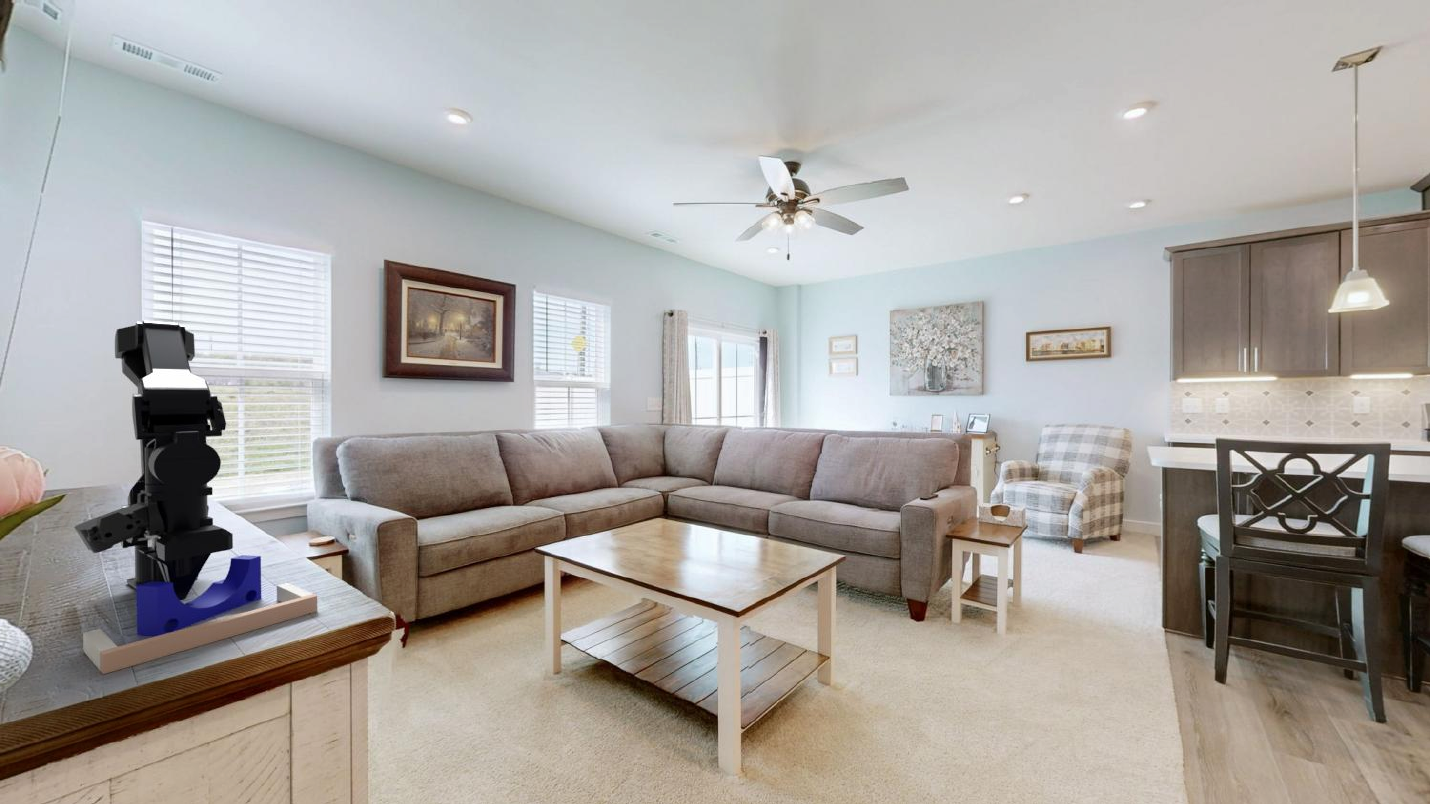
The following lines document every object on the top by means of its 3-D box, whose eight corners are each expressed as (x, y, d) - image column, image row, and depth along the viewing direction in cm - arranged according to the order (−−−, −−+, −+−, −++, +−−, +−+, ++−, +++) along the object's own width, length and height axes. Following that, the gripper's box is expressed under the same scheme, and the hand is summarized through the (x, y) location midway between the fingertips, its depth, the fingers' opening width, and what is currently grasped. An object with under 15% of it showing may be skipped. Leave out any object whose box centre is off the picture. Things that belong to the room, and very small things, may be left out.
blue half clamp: (233, 597, 74) (232, 554, 74) (261, 599, 74) (260, 556, 73) (126, 636, 62) (125, 585, 62) (158, 638, 62) (157, 587, 62)
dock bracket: (83, 651, 58) (83, 632, 58) (287, 597, 74) (287, 582, 74) (103, 674, 53) (102, 654, 53) (317, 611, 69) (317, 595, 69)
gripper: (66, 484, 68) (68, 606, 68) (100, 498, 58) (102, 641, 58) (186, 473, 77) (188, 580, 77) (233, 483, 67) (235, 607, 68)
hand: (178, 600), depth 70 cm, fingers closed
